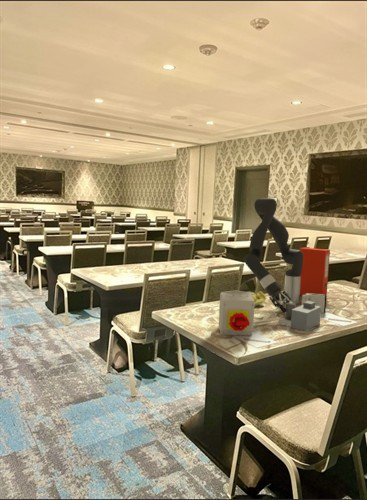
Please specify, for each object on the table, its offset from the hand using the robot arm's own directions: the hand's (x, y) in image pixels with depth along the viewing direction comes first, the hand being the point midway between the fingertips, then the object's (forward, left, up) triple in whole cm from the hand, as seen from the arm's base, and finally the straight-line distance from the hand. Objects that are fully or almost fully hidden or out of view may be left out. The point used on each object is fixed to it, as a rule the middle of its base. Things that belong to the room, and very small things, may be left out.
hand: (289, 310), depth 188 cm
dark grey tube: (0, +1, -6) cm, 6 cm away
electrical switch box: (+34, -9, -7) cm, 36 cm away
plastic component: (-13, -32, -7) cm, 35 cm away
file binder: (-63, -15, -7) cm, 65 cm away
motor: (-4, +5, -6) cm, 9 cm away
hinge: (-28, +1, -7) cm, 29 cm away
